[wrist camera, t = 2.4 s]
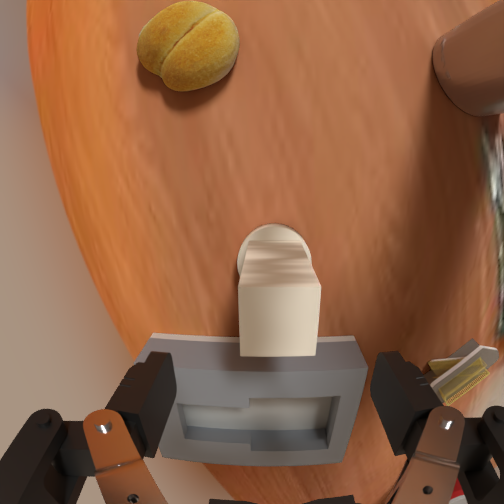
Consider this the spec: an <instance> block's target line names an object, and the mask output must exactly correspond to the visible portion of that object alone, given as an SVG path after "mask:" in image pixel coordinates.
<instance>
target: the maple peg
mask: <svg viewBox="0 0 504 504" xmlns="http://www.w3.org/2000/svg"><path fill="white" fill-rule="evenodd" d="M237 268H238V273H239V276H240V280H239V285H238V305H239V334H240V356H258V357H281V356H315V354H316V344H317V334H318V323H319V311H320V297H321V285H320V283H319V281H318V278H317V276H316V274H315V272H314V270H313V267H312V263H311V254H310V251H309V249H308V247H307V245H306V243H305V241H304V239H303V238H302V236H301V235H300V234H299V233H298V232H297V231H296V230H294V229H293V228H291V227H289V226H287V225H284V224H279V223H269V224H264V225H261V226H259V227H257V228H255V229H254V230H252V231H251V232H250V233H249V234H248V235H247V236H246V238H245V239H244V241H243V243H242V245H241V248H240V251H239V254H238V259H237Z"/></svg>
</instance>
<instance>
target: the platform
mask: <svg viewBox="0 0 504 504" xmlns="http://www.w3.org/2000/svg"><path fill="white" fill-rule="evenodd" d="M498 358H499V353H498V350H497V349H496V348H493V347H487V346H480V345H479V344H478V343H477V342H476V341H475V340H474V339H473V338H472V339H471V340H470V341H468V342H467V343H466V344H465V345H464V346H462V347H461V348H460V349H458V350H457V351H456V352H455V353H453V354H452V355H451V356H449V357H448V358H447V359H436V360H432V361H429V362H428V364H429V366H430V368H431V370H430V371H429V372H427V373H426V374H424V378H426V380H427V381H428V384H430V386H431V387H432V389H433V390H434V392H435V393H436V395H437V396H438V398H439V399H440V401H441V402H442V403H444V402H445V403H446V404H447V406H448V405H450V404H451V403H453V402H454V401H455V400H457V399H458V398H460V397H461V396H462V395H464V394H465V393H466V392H468V391H469V390H470V389H471V388H473V387H474V386H475V385H477V384H478V383H479V382H480V381H482V380H483V379H484V378H485V377H486V376H488V375H489V372H488V371H487V369H488V368H489V367H490V366H492V365H493V364H494V363H495V362H496V361H497V360H498ZM486 371H487V372H486ZM483 372H484V373H483ZM485 372H486V373H485ZM482 374H483V375H484V374H486V376H485V375H484V376H485V377H484V376H483V375H482ZM481 375H482V376H483V377H484V378H482V377H481ZM479 376H480V377H481V378H482V379H481V378H480V377H479ZM478 377H479V378H480V379H481V380H479V378H478ZM476 378H478V380H479V381H478V380H477V379H476ZM475 379H476V380H477V381H478V383H477V382H476V383H475V382H474V381H473V380H475ZM476 380H475V381H476ZM472 381H473V382H474V383H475V385H474V383H473V382H472ZM471 382H472V383H473V385H474V386H473V385H472V384H471ZM468 384H469V385H470V384H471V385H472V386H473V387H471V385H470V387H471V388H470V387H469V386H468ZM467 386H468V387H469V388H470V389H468V390H467V389H466V388H465V389H466V390H467V391H465V392H464V391H463V390H462V389H464V387H467ZM468 387H467V388H468ZM465 389H464V390H465ZM461 390H462V391H463V392H464V393H462V394H461V393H460V392H459V391H461ZM462 391H461V392H462ZM458 392H459V393H460V394H461V396H460V395H459V396H458V395H457V393H458ZM459 393H458V394H459ZM455 394H456V395H457V396H458V398H457V397H456V398H457V399H456V398H455V397H454V395H455ZM456 395H455V396H456ZM452 396H453V397H454V398H455V400H454V399H453V400H454V401H453V400H452V399H451V397H452ZM453 397H452V398H453ZM449 398H450V399H451V400H452V402H451V401H450V402H451V403H449V404H448V403H447V401H448V399H449ZM450 399H449V400H450ZM448 402H449V401H448Z"/></svg>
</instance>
